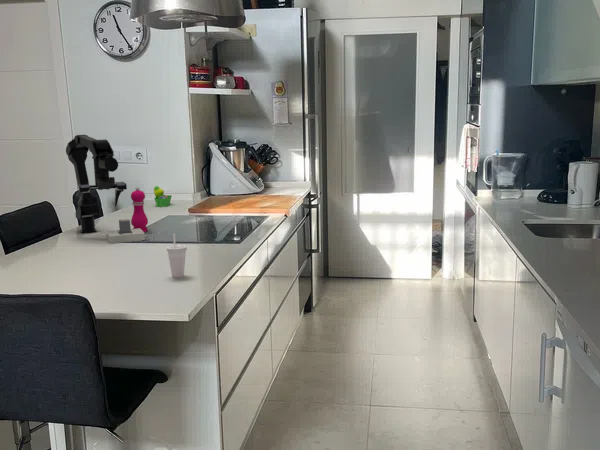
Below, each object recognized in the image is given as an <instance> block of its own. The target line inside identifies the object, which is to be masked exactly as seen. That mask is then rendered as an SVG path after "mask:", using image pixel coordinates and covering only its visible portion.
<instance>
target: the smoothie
mask: <svg viewBox="0 0 600 450" xmlns="http://www.w3.org/2000/svg"><path fill="white" fill-rule="evenodd" d="M172 237H173V244H172V245H168V246H166V252H167V255H168V256H167V257H168V260H169V266H170V267H169V268H170V273H171V277H172V278H175V279H176V278H177V279H178V278H184V277H185V268H186V267H185V266H186V256H187V255H186V252H187V250H188V248H187V245H185V244H176V233H172Z"/></svg>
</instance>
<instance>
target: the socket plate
mask: <svg viewBox="0 0 600 450" xmlns="http://www.w3.org/2000/svg"><path fill="white" fill-rule="evenodd" d="M105 233H106V239H107V241H108V243H109V244H110V243H111V244H118V243H119V244H121V243H133V242H141V241H142V240H144V241H146V235H145V234H146V232H143V231H142V230H141V229H140V228H137V229H133V228H131V233H125V234H120V229H118V230H117V229H115V230H106V232H105ZM140 240H141V241H140ZM132 241H133V242H132Z"/></svg>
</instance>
